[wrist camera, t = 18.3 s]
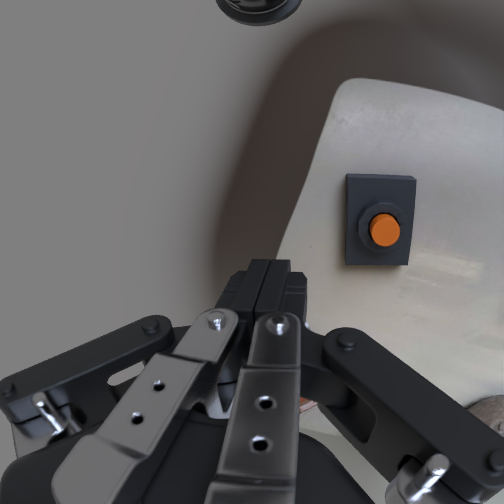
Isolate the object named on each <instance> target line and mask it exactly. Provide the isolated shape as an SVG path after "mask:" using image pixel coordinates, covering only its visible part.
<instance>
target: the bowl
mask: <svg viewBox="0 0 504 504" xmlns="http://www.w3.org/2000/svg"><path fill="white" fill-rule="evenodd" d="M467 410H468V411H469V412H471V413H472V414H473V415H475V416H476V417H477V418H479V419H480V420H481V421H483V422H484V423H485V424H487V425H488V426H489V427H490V428H492V429H493V430H494V431H496V432H497V433H498V434H500V435H501V436H502V437H504V395H497V396H493V397H490V398H487V399H485V400H482V401H480V402H478V403H476V404H475V405H473V406H472V407H470V408H469V409H467Z"/></svg>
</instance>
